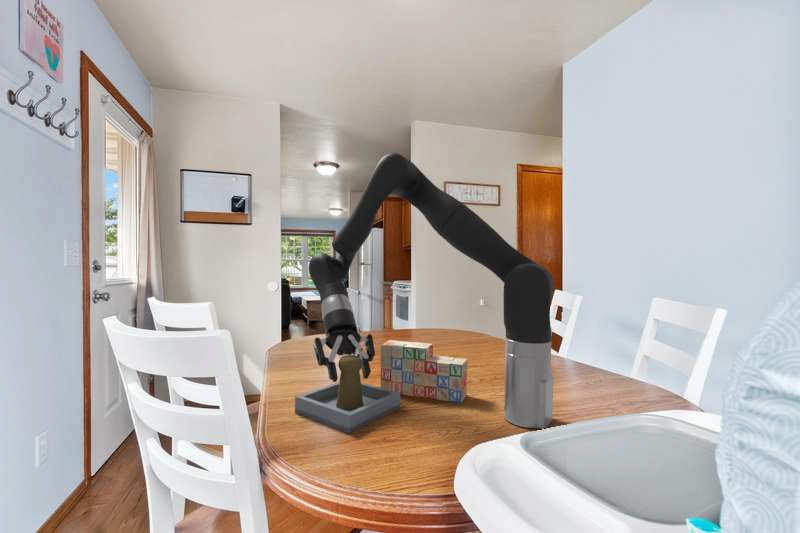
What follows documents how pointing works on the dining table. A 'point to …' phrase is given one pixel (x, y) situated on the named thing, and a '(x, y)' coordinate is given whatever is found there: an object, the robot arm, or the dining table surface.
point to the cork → (349, 383)
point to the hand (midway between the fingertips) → (351, 378)
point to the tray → (325, 411)
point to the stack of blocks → (422, 371)
